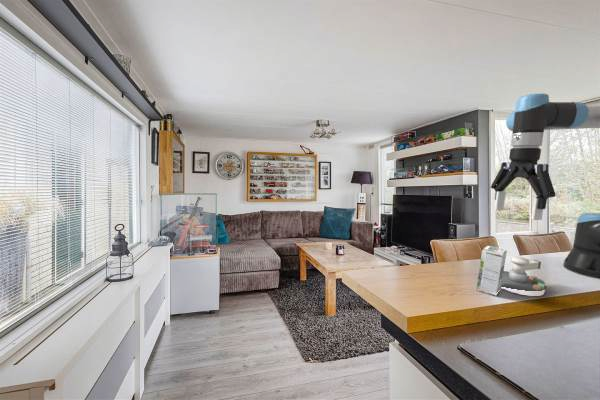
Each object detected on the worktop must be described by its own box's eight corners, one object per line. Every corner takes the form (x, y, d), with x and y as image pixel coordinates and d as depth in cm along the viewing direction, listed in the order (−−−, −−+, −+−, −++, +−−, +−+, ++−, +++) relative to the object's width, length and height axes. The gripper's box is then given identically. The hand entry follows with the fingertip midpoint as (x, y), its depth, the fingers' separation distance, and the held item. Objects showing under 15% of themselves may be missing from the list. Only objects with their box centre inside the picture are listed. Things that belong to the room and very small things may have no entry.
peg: (520, 275, 93) (522, 262, 92) (506, 269, 97) (508, 257, 96) (544, 271, 96) (546, 259, 95) (529, 266, 100) (531, 254, 99)
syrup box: (480, 285, 96) (485, 244, 94) (501, 291, 92) (507, 249, 90) (475, 290, 92) (481, 248, 90) (497, 297, 88) (503, 253, 86)
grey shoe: (517, 275, 105) (519, 263, 104) (557, 295, 90) (560, 281, 89) (480, 276, 103) (481, 264, 102) (515, 297, 88) (517, 283, 87)
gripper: (483, 147, 98) (476, 207, 102) (556, 146, 74) (543, 224, 77) (502, 148, 99) (495, 206, 103) (580, 146, 75) (567, 224, 78)
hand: (516, 214), depth 90 cm, fingers open, 13 cm apart
